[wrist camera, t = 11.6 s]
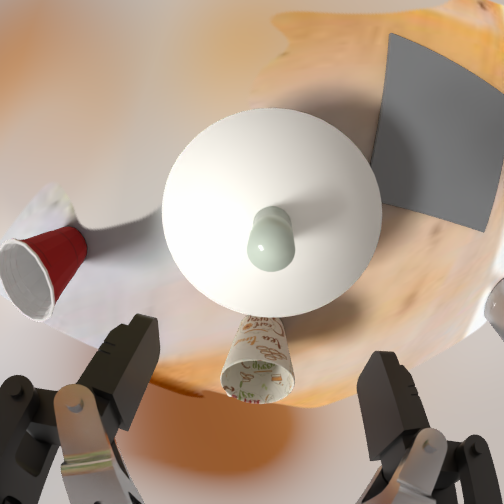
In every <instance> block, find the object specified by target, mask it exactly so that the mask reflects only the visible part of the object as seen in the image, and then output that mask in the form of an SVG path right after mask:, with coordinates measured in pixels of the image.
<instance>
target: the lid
mask: <svg viewBox="0 0 504 504" xmlns="http://www.w3.org/2000/svg"><path fill="white" fill-rule="evenodd" d="M162 223H163V229H164V235H165V238H166V242H167V245H168V248H169V250H170V252H171V255H172V257H173V259H174V261H175V262H176V264H177V266H178V267H179V269H180V270H181V272H182V273H183V274H184V276H185V277H186V278H187V279H188V280H189V282H190V283H191V284H192V285H193V286H195V287H196V288H197V289H198V290H199V291H200V292H201V293H203V294H204V295H205V296H207V297H208V298H209V299H211V300H213V301H214V302H216V303H218V304H219V305H222V306H224V307H226V308H228V309H230V310H233V311H236V312H239V313H242V314H247V315H252V316H258V317H268V318H271V317H288V316H295V315H299V314H303V313H307V312H310V311H312V310H315V309H318V308H320V307H322V306H324V305H326V304H328V303H330V302H331V301H333V300H335V299H336V298H338V297H339V296H341V295H342V294H343V293H344V292H345V291H347V290H348V289H349V288H350V287H351V286H352V285H353V284H354V283H355V282H356V281H357V280H358V279H359V277H360V276H361V275H362V273H363V272H364V270H365V269H366V268H367V266H368V264H369V262H370V260H371V259H372V257H373V254H374V252H375V249H376V247H377V244H378V240H379V236H380V232H381V224H382V202H381V196H380V191H379V187H378V184H377V181H376V178H375V175H374V173H373V171H372V169H371V167H370V165H369V163H368V161H367V160H366V158H365V157H364V155H363V154H362V153H361V151H360V150H359V149H358V147H357V146H356V145H355V144H354V143H353V142H352V141H351V140H350V139H349V138H348V137H347V136H346V135H344V134H343V133H342V132H341V131H339V130H338V129H337V128H335V127H334V126H332V125H330V124H329V123H327V122H325V121H324V120H322V119H319V118H317V117H314V116H312V115H309V114H307V113H303V112H299V111H295V110H291V109H281V108H260V109H253V110H248V111H243V112H239V113H236V114H233V115H231V116H228V117H225V118H223V119H222V120H219V121H218V122H216V123H214V124H212V125H210V126H209V127H208V128H207V129H205V130H203V131H202V132H201V133H199V134H198V135H197V136H196V137H195V138H194V139H193V140H192V141H191V142H190V143H189V144H188V145H187V146H186V148H185V149H184V150H183V151H182V153H181V154H180V155H179V157H178V159H177V161H176V162H175V164H174V166H173V167H172V169H171V172H170V174H169V177H168V179H167V182H166V186H165V190H164V195H163V203H162Z"/></svg>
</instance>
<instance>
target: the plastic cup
mask: <svg viewBox="0 0 504 504" xmlns="http://www.w3.org/2000/svg"><path fill="white" fill-rule="evenodd" d="M86 254H87V245H86V242H85V239H84V238H83V236H82V234H81V233H80V232H79V231H78V230H77V229H75V228H73V227H70V226H69V227H62V228H59V229H56V230H54V231H49V232H46V233H43V234H40V235H37V236H34V237H31V238H28V239H25V240H24V239H23V240H17V239H11V240H7V241H4V242H3V244H2V245H1V247H0V280H1V282H2V285H3V288H4V290H5V292H6V294H7V295H8V297H9V299H10V300H11V302H12V303H13V305H14V306H15V307H16V308H17V309H18V310H19V311H20V312H21V313H22V314H23V315H24V316H26V317H28V318H29V319H31V320H33V321H39V322H44V321H46V320H47V319H48V318H50V317H51V315H52V313H53V309H54V306H55V304H56V302H57V300H58V299H59V296H60V295H61V293H62V292H63V290H64V289H65V287H66V286H67V284H68V283H69V281H70V280H71V279H72V277H73V276H74V274H75V273H76V271H77V269H78V268H79V267H80V265H81V264H82V263H83V261H84V259H85V257H86Z"/></svg>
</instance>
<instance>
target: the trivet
mask: <svg viewBox="0 0 504 504" xmlns="http://www.w3.org/2000/svg"><path fill="white" fill-rule="evenodd" d="M503 159H504V94H502V93H501V92H500V91H498V90H497V89H496V88H494V87H493V86H491V85H490V84H488V83H487V82H485V81H484V80H482V79H481V78H479V77H478V76H476V75H475V74H473V73H472V72H470V71H468V70H467V69H465V68H463V67H462V66H460V65H458V64H456V63H455V62H453V61H451V60H449V59H447V58H445V57H444V56H442V55H440V54H438V53H436V52H434V51H432V50H430V49H428V48H425V47H423V46H421V45H419V44H417V43H415V42H412V41H410V40H408V39H405V38H403V37H400V36H398V35H395V34H393V33H390V34H389V43H388V55H387V65H386V73H385V82H384V89H383V96H382V103H381V109H380V116H379V122H378V127H377V133H376V138H375V144H374V149H373V154H372V158H371V163H370V167H371V169H372V171H373V173H374V175H375V178H376V181H377V184H378V187H379V191H380V196H381V202H382V203H385V204H389V205H393V206H397V207H401V208H405V209H408V210H412V211H416V212H419V213H423V214H426V215H430V216H433V217H437V218H440V219H443V220H447V221H450V222H453V223H456V224H459V225H462V226H466V227H469V228H472V229H475V230H478V231H481V232H483V233H484V232H485V229H486V226H487V223H488V219H489V216H490V213H491V209H492V206H493V202H494V199H495V195H496V191H497V187H498V183H499V179H500V174H501V169H502V164H503Z"/></svg>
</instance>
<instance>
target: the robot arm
mask: <svg viewBox="0 0 504 504" xmlns="http://www.w3.org/2000/svg"><path fill="white" fill-rule="evenodd" d="M484 312H485V317H486V319H487V320H488V321H489V322H490V324H491V325H492V326H493V328H494V329H495V330H496V332H497V333H498V334H499V336H500V337H501V339H502V340H503V341H504V279H503V280H502V281H500V282H499V283H498V284H497V286H496V287H495V288H494V289H493V291H492V292H491V294H490V296H489V297H488V300H487V302H486V305H485V311H484ZM159 355H160V341H159V329H158V320H157V318H154V317H150V316H146V315H142V314H136V315H135V316H134V317H133V319H132V320H131V322H130V323H129V325H125V324H120V325H119V326H117V327H116V328H114V329H113V330H111V331H110V333H109V334H108V336H107V337H106V339H105V340H104V343H102V345H101V346H100V348H99V350H98V351H97V352H96V354H95V355H94V357H93V358H92V360H91V361H90V363H89V364H88V366H87V367H86V369H85V371H84V372H83V374H82V376H81V377H80V379H79V380H78V382H77V383H76V384H70V385H66V386H64V387H62V388H61V389H60V390H59V391H52V390H45V389H39V388H34V386H33V385H32V383H31V381H30V380H29V379H28V378H26V377H24V376H21V375H14V376H11V377H9V378H8V379H6V380H5V381H4V383H3V384H2V385H1V387H0V504H38V501H39V498H40V495H41V492H42V489H43V486H44V484H45V481H46V478H47V476H48V473H49V470H50V467H51V465H52V462H53V460H54V457H55V455H56V453H57V450H58V448H59V446H61V447H62V452H63V456H64V463H62V464H61V474H62V478H63V481H64V484H65V488H66V491H67V494H68V497H69V500H70V503H71V504H145V503H144V501H143V499H142V498H141V495H140V494H139V492H138V490H137V488H136V487H135V485H134V483H133V481H132V479H131V477H130V475H129V472H128V470H127V467H126V465H125V463H124V460H123V458H122V455H121V452H120V450H119V447H118V444H117V442H116V439H115V435H116V433H117V431H118V428H120V429H123V430H125V431H128V430H129V428H130V426H131V423H132V421H133V418H134V416H135V413H136V411H137V409H138V406H139V404H140V401H141V399H142V397H143V394H144V392H145V390H146V388H147V385H148V383H149V381H150V378H151V376H152V374H153V372H154V369H155V367H156V365H157V362H158V359H159ZM357 394H358V398H359V403H360V408H361V413H362V418H363V423H364V429H365V434H366V439H367V445H368V451H369V458H370V461H376V460H381V463H382V465H381V466H380V467H379V468H378V470H377V471H376V473H375V475H374V476H373V478H372V480H371V482H370V483H369V484H368V486H367V488H366V489H365V491H364V492H363V494H362V495H361V497H360V498H359V499H358V501H357V503H356V504H458V501H457V495H456V489H455V484H454V483H456V482H457V481H459V480H460V481H461V486H462V492H463V497H464V504H503V503H502V498H501V493H500V489H499V484H498V479H497V475H496V471H495V468H494V464H493V460H492V457H491V454H490V450H489V447H488V444H487V442H486V441H485V439H484V438H482V437H481V436H479V435H471V436H469V437H468V438H467V439H466V440H465V441H463V442H454V441H447V440H446V438H445V436H444V435H443V434H442V433H441V432H440V431H438V430H437V429H434V428H431V427H430V425H429V422H428V419H427V416H426V413H425V411H424V408H423V405H422V402H421V400H420V397H419V396H418V392H417V389H416V387H415V384H414V381H413V378H412V376H411V374H410V373H409V372H408V370H407V369H406V368H405V367H404V366H403V365H400V364H399V361H398V359H397V356H396V354H395V353H394V352H388V351H375V352H374V353H373V354H372V355H371V357H370V359H369V361H368V363H367V364H366V366H365V368H364V369H363V371H362V373H361V374H360V376H359V378H358V382H357Z"/></svg>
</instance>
